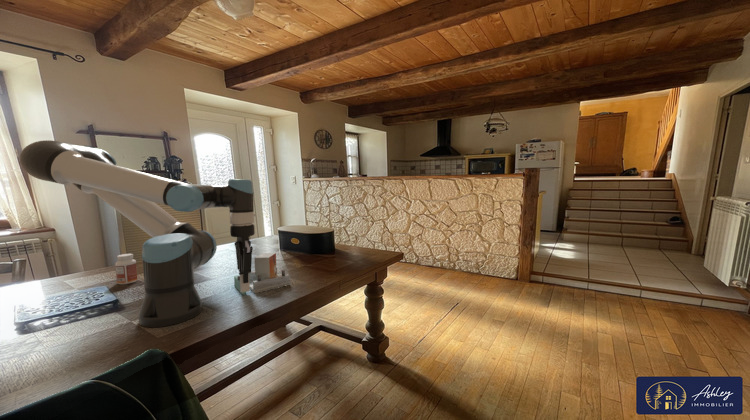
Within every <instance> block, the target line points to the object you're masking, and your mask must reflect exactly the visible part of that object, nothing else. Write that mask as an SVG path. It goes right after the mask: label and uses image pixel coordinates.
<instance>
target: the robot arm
mask: <svg viewBox="0 0 750 420" xmlns="http://www.w3.org/2000/svg"><path fill="white" fill-rule="evenodd" d="M19 163H20V166H21V167H22V169H23V170H24V171H25V172H26V173H27V174H29V175H30V176H31V177H33V178H36V179H38V180H41V181H43V182H44V181H46V182H49V183H50V182H51V183H56V184H59V185H66V186H67V185H73V186H74V187H76V188H78V189H79V190H80V191H81V192H82V193H85V194H87V195H89V194H90V195H93V194H94V195H96V196H97V197H99V198H100V199H101V200H102V201H104V202H105V203H107V204H108V205H109V206H111V208H113V209H114V210H116V211H117V212H118V213H120V214H121V215H122V216H123V217H125V218H126V219H128V220H129V222H132V223H133V224H134V225H136V226H137V227H138V228H140V230H142V231H143V232H145V233H146V234H147V235H149V237H151V238H149V239H147V240H146V241H144V242H143V244H142V247H141V248H142V250H141V251H142V252H141V259H142V269H143V281H144V283H143V284H144V297H143V300H142V303H141V307H140V310H139V312H138V323H139V325H140V326H142V327H145V328H146V327H147V328H160V327H162V328H163V327H168V326H173V325H175V324H179V323H182V322H185V321H188V320H190V319H193V318H195V317H196V316H198V315H199V314H200V313H201V312H203V302H202V299H201V296H200V295H199V293H198V291H197V289H196V285H195V274H194V270H195V269H197V268H200V267H201V266H203V265H206V264H207V263H209V262H210V260H211V259H213V258H214V256H215V255H216V252H217V247H218V245H217V241H216V239H215V237H214V235H213V234H211V233H210V232H208V231H206V230H202V229H201V230H199V229H197V228H195V226H193V225H192V224H191V223H189V222H181V221H179V220H178V219H176V218H175V217H174V216H172V215H171V214H170V213H169V212H167V211H166V210H165V209H164V208H162V207H161V206H159V204H161V205H165V206H168V207H170V208H171V209H173V210H174V211H176V212H184V213H185V212H187V213H188V212H189V213H191V212H193V211H197V210H204V209H211V208H229V224H230V229H229V230H230V237H233V238H236V241H234V247H235V255H236V256H235V257H236V264H237V265H236V267H237V270H238V276H240V291H239V292H240V294H242V293H243V292H246V293H247V292H251V290H250V283H249V273H250V272H252V259H253V249H254V246H252V245H251V244H252V242H251V240H250V237H252V236H255V233H256V232H255V231H256V230H255V224H254V223H255V217H256V214H255V211H254V207H255V205H254V189H253V188H254V187H253V186H254V185H253V181H252V180H251V179H248V178H247V179H246V178H245V179H244V178H241V179H239V178H237V179H236V178H235V179H231V178H230V179H229V180H228V183H227V184H222V185H219V184H190V183H188V182H187V183H186V182H182V181H178V180H174V179H170V178H166V177H162V176H158V175H154V174H151V173H146V172H142V171H139V170H135V169H131V168H127V167H123V166H119V165H117V161H116V159H115V158H114V157H113V156H112V155H111V154H110V153H109V152H107V151H106V150H104V149H101V148H98V147H95V146H92V145H85V144H84V145H81V144H76V143H75V144H74V143H70V142H63V141H59V140H50V139H48V140H39V141H34V142H31V143H30V144H28V145H26V146H25V147H24V148H23V149H22V151H21V152H20V154H19Z"/></svg>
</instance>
